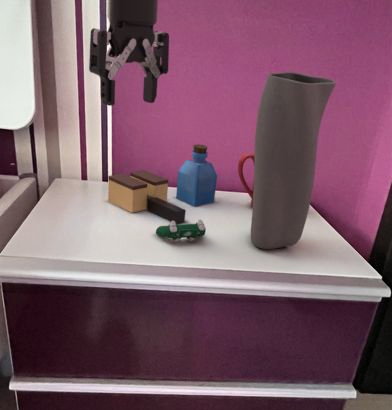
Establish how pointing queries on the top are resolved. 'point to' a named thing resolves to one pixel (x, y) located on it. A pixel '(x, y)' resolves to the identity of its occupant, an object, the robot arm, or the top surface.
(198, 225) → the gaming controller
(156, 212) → the knife
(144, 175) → the cake
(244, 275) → the top surface
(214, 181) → the perfume bottle
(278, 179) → the vase
